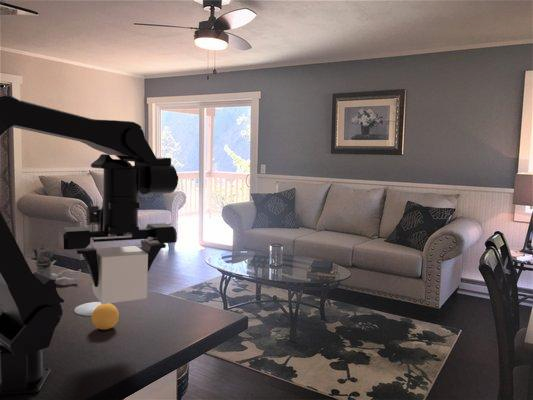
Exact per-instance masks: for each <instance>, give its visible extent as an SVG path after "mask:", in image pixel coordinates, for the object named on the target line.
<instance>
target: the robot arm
mask: <svg viewBox="0 0 533 400" xmlns="http://www.w3.org/2000/svg"><path fill="white" fill-rule="evenodd" d="M10 128H15V129H19V130H22V131H23V130H24V131H28V132H33V133H38V134H42V135H48V136H52V137H56V138H60V139H61V138H63V139H67V140H71V141H77V142H80V143H82V144H85V145H87V146H88V147H90V148H92V149H94V150H97V151H98V152H102V154H100V156H99V157H98V158H97V159H96V160H94V161H93V162H92V163H91V164H90V167H91V168H92V169H103V175H102V176H103V177H102V178H103V183H102V185H103V186H102V187H103V188H102V189H103V191H102V192H103V193H102V194H103V195H102V196H103V197H102V204H101V209H100V207H99V205H92V206H91V205H88V206H87V207H86V215H85V216H86V224H87V226H94V225H95V226H97V230H90V229H88V228H87V227H86V226H64V227H62V228H61V229H59V233H58V234H59V235H58V236H59V240H58V243H59V245H60V246H61V247H62V249H63V250H67V251H69V250H73V251H74V252H75V253H76V254H77V255H82V257H83V260H84V261H85V263H86V266H87V269H88V271H89V275H90V277H91V281H92V285H93V284H94V286H95V287H98V265H97V250H96V248H95V246H94V243H98V242H99V243H100V242H101V243H102V242H117V241H118V242H119V241H134V240H140V245H141V250H143V251H144V252H146V253H147V254H148V272H149V271H150V269H151V267H152V264H153V263H154V261H155V260H156V258H157V256H158V254H159V253H160V251H161V250H162V249H165V248H166V247H167V245H166V244H170V243H171V244H175V243H177V241H178V240H177V239H178V238H177V237H178V236H177V235H178V234H177V233H178V232H177V229H176V228H175V227H174V226H172V225H171V224H167V223H166V222H161V223H147V224H146V228H140V226H139V225H138V223H139V222H138V219H139V214H138V213H139V210H138V209H140V202H139V193H140V194H142V195H159V194H160V195H161V194H173V193H174V192H175V190H176V189H177V187H178V184H179V175H178V173H177V170H176V168H175V166H174V165H173V164H172V158H171V157H161V156H160V157H156V155H155V153H154V151H153V149H152V148H151V146H150V144H149V143H148V141H147V139H146V138H145V133H144V130H143V129H142V126H141V125H140V124H139V123H137V122H135V121H129V120H127V121H126V120H112V119H109V120H108V119H94V118H90V117H86V116H81V115H79V114H76V113H75V114H74V113H71V112H67V111H62V110H59V109H56V108H51V107H47V106H44V105H40V104H36V103H32V102H28V101H24V100H20V99H18V98H16V97H15V96H12V95H6V94H5V95H0V136H2V135H3V134H4V133H5V132H7V131H8V130H10ZM111 156H115V157H117V158H118V159H117V158H113V157H111ZM132 162H133V163H134V165H132ZM6 221H7V220H6V219H5V217H4V215H3V213H2V212H1V210H0V303H1V304H0V305H1V307H2V311H1V312H0V396H6V395H8V396H9V395H19V394H21V395H22V394H32V393H33V394H35V393H38V392H40V390H41V388H42V387H43V385H44V383H45V381H46V380H47V378H48V377H49V374H50V373H51V367H43V364H44V363H43V350H44V349H47V348H49V347H50V346H51V341H52V340H53V335H54V334H55V333H54V332H55V330H56V328H57V326H58V324H59V323H60V321H61V319H62V317H63V315H64V310H63V306H62V304H61V303H64V302H65V299H63V298H62V297H61V296H60V295H59V293H58V290H57V286H56V284H55V283H54V281H53V280H52V279H50V278H48V277H46V276H43V275H41V274H39V273H37V271H34V272H33V271H32V269H31V268H30V266H29V264H28V262H27V260H26V258H25V256H24V254H23V252H22V251H21V248H20V246H19V244H18V243H17V240H16V239H15V237H14V235H13V233H12V231H11V229H10V227H9V225H8V223H7V222H6ZM32 272H33V273H32Z"/></svg>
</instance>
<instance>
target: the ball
mask: <svg viewBox="0 0 533 400" xmlns="http://www.w3.org/2000/svg"><path fill="white" fill-rule="evenodd" d="M119 316H120V314H119V310H118V308H117V307H116V306H115V305H114V304H113V303H110V304H109V303H108V304H101V305H99V306H97V307H96V308H95V309H94V311H93V313H92V316H91V322H92V323H93V326H94V327H96V328H97V329H98V330H99V329H100V330H103V331H105V330H109V329H112V328H113V327H114V326H116V324H117V323H118V321H119Z"/></svg>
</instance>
